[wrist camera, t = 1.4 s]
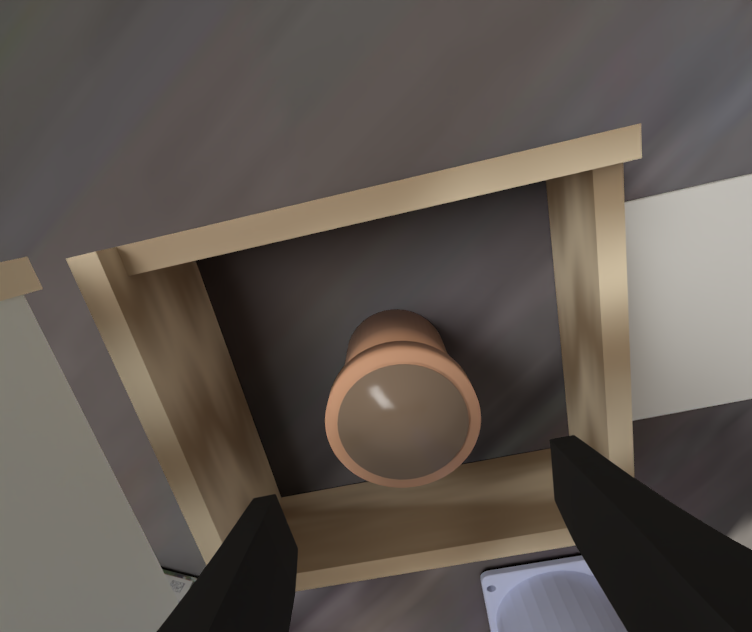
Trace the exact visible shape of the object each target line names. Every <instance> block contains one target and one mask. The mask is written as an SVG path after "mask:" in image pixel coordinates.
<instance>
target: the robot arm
mask: <svg viewBox="0 0 752 632" xmlns="http://www.w3.org/2000/svg"><path fill="white" fill-rule="evenodd" d="M550 448H551V462H552V475H553V488H554V500H555V502H556V505H557V507H558V509H559V511H560V513H561V516H562V518H563V520H564V522H565V524H566V526H567V529H568V531H569V533H570V535H571V537H572V539H573V541H574V543H575V545H576V546H577V548H578V550H579V551H580V553H581V555H580V556H574V557H568V558H561V559H555V560H549V561H543V562H537V563H531V564H525V565H518V566H512V567H506V568H500V569H494V570H488V571H485V572H483V573H482V574H481V576H480V579H481V585H482V590H483V595H484V600H485V605H486V610H487V616H488V621H489V626H490V631H491V632H752V550H751V549H749V548H747V547H745V546H743V545H741V544H740V543H738V542H736V541H734V540H732V539H731V538H729V537H727V536H725V535H724V534H722V533H720V532H718V531H717V530H715V529H713V528H712V527H710V526H708V525H707V524H705V523H703V522H702V521H700V520H698V519H697V518H695V517H694V516H692V515H690V514H689V513H687V512H685V511H684V510H682V509H681V508H679V507H677V506H676V505H674V504H673V503H671V502H670V501H668V500H667V499H665V498H664V497H662V496H661V495H659V494H658V493H656V492H655V491H653V490H652V489H650V488H649V487H647V486H646V485H644V484H643V483H641V482H640V481H638V480H637V479H635V478H634V477H632V476H631V475H629V474H628V473H627V472H625V471H624V470H622V469H621V468H620V467H618V466H617V465H615V464H614V463H613V462H611V461H610V460H608V459H607V458H606V457H604V456H603V455H601V454H600V453H599V452H597V451H596V450H595V449H593V448H592V447H590V446H589V445H588V444H586V443H585V442H583V441H582V440H581V439H579V438H578V437H576V436H575V435H571V436H566V437H561V438H556V439H551V440H550ZM297 560H298V547H297V545H296V542H295V540H294V537H293V535H292V533H291V530H290V528H289V525H288V523H287V520H286V518H285V515H284V513H283V511H282V508H281V506H280V503H279V501H278V498H277V496H276V494H272V495H267V496H262V497H257V498H253V500H252V501H251V502H250V504H249V505H248V507H247V508H246V510H245V511H244V512H243V514H242V515H241V517H240V518H239V520H238V521H237V523H236V524H235V525H234V527H233V528H232V530H231V531H230V533H229V534H228V536H227V537H226V539H225V540H224V541H223V543H222V544H221V546H220V547H219V549H218V550H217V552H216V553H215V554H214V556H213V557H212V559H211V560H210V561H209V563H208V564H207V566H206V567H205V568H204V570H203V571H202V573H201V574H200V575H199V577H198V578H197V580H196V581H195V582H194V584H193V585H192V586H191V588H190V589H189V590H188V592H187V593H186V594H185V595H184V597H183V598H182V599H181V601H180V602H179V603H178V605H177V606H176V607H175V609H174V610H173V611H172V613H171V614H170V615H169V616H168V618H167V619H166V620H165V622H164V623H163V624H162V625H161V627H160V628H159V629H158V630H157V632H289V626H290V620H291V614H292V609H293V603H294V597H295V589H296V576H297ZM490 585H491V586H490Z"/></svg>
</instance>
